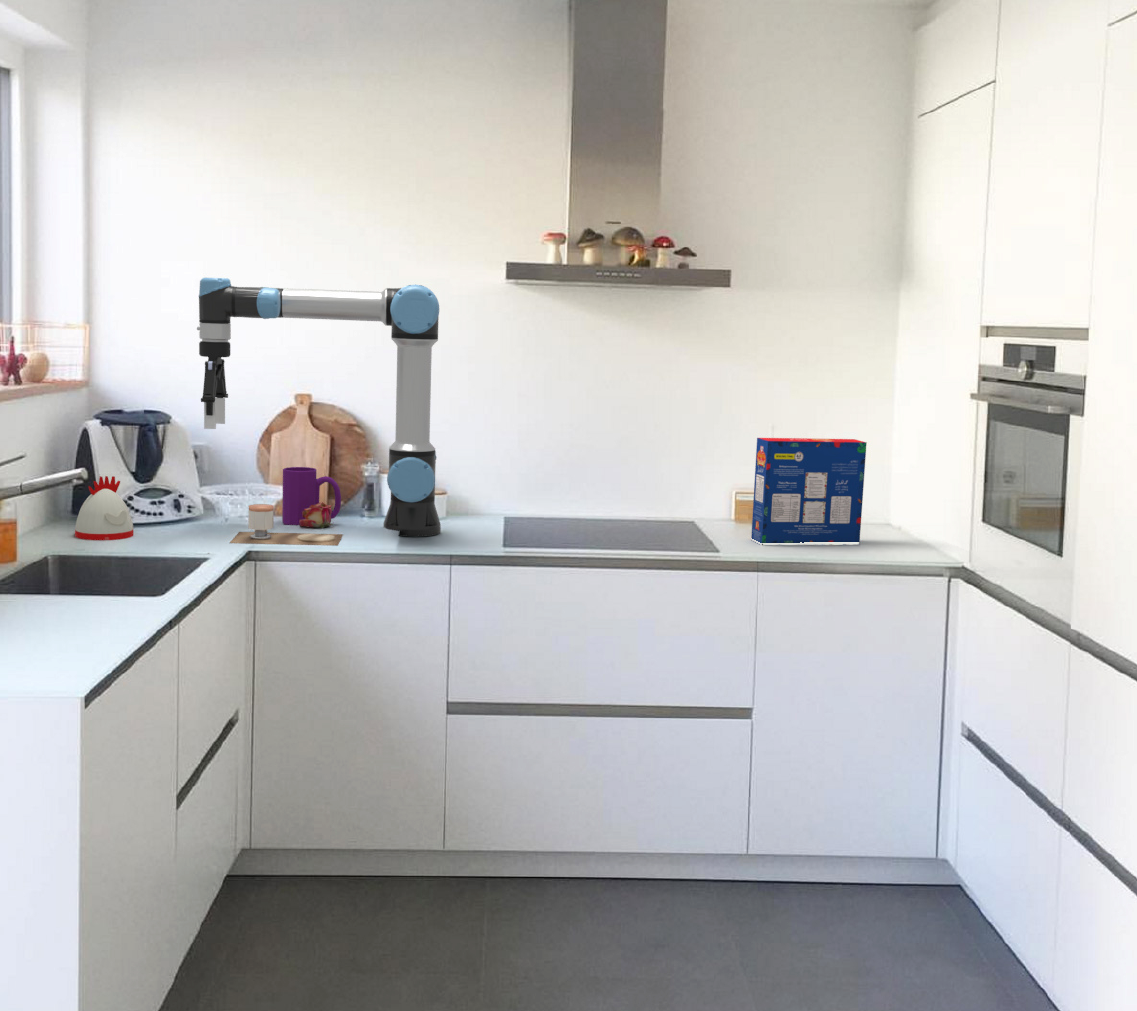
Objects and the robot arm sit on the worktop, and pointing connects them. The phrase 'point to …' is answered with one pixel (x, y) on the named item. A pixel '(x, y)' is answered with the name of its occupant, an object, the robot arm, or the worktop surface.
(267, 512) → the cap
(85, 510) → the kitchen timer
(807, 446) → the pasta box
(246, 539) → the board
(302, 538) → the coaster
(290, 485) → the mug
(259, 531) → the post
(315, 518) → the flower
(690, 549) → the worktop surface
